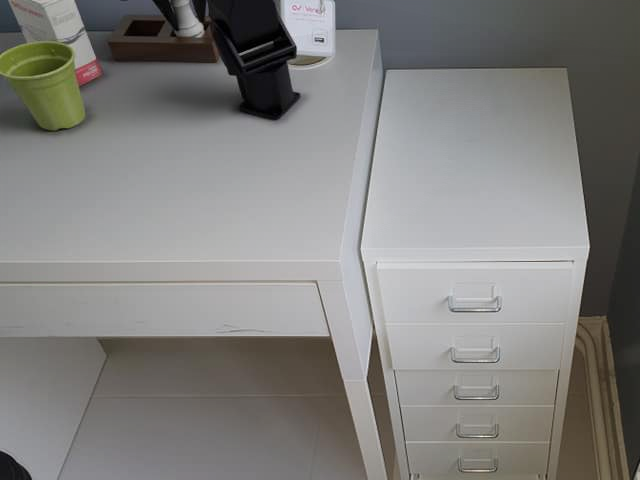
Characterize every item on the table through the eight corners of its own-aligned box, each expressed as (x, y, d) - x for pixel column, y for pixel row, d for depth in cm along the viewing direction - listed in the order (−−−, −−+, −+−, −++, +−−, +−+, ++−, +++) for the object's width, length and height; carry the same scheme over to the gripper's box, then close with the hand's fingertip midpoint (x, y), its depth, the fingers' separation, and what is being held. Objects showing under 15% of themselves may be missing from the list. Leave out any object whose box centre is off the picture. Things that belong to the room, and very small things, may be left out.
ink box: (106, 74, 107) (72, -9, 98) (77, 89, 105) (40, 5, 95) (67, 57, 110) (31, -25, 101) (38, 72, 107) (-2, -12, 98)
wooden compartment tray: (217, 62, 110) (212, 43, 108) (114, 61, 110) (106, 41, 107) (229, 34, 115) (224, 15, 113) (131, 33, 115) (124, 14, 113)
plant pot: (60, 94, 104) (32, 34, 97) (114, 109, 102) (89, 49, 95) (10, 128, 98) (-23, 67, 91) (66, 145, 96) (36, 84, 89)
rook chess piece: (182, 48, 109) (162, -5, 103) (173, 36, 112) (153, -18, 106) (210, 40, 111) (193, -14, 105) (201, 27, 113) (183, -26, 107)
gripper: (116, -53, 90) (157, 67, 102) (248, -89, 98) (272, 25, 110) (77, -79, 95) (121, 38, 107) (206, -112, 103) (233, 0, 115)
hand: (189, 25), depth 110 cm, fingers closed on rook chess piece, 4 cm apart
